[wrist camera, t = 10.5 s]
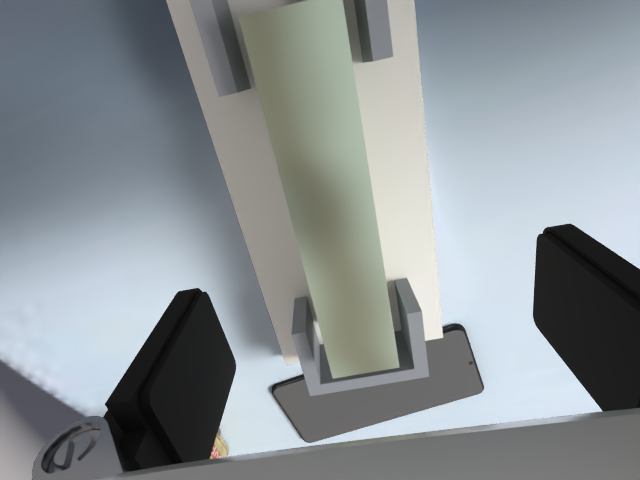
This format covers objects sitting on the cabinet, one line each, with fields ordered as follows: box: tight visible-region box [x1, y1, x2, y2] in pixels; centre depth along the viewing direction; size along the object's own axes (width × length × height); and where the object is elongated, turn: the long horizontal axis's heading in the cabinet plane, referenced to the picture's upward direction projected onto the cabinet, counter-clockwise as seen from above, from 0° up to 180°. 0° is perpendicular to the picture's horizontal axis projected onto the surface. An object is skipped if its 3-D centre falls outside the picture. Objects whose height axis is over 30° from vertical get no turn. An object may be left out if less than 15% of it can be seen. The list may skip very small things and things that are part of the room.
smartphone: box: [272, 324, 484, 443], centre depth 28 cm, size 7×1×15 cm
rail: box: [238, 0, 400, 379], centre depth 18 cm, size 4×17×5 cm, turn 12°
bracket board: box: [166, 0, 443, 396], centre depth 19 cm, size 11×23×4 cm, turn 12°
